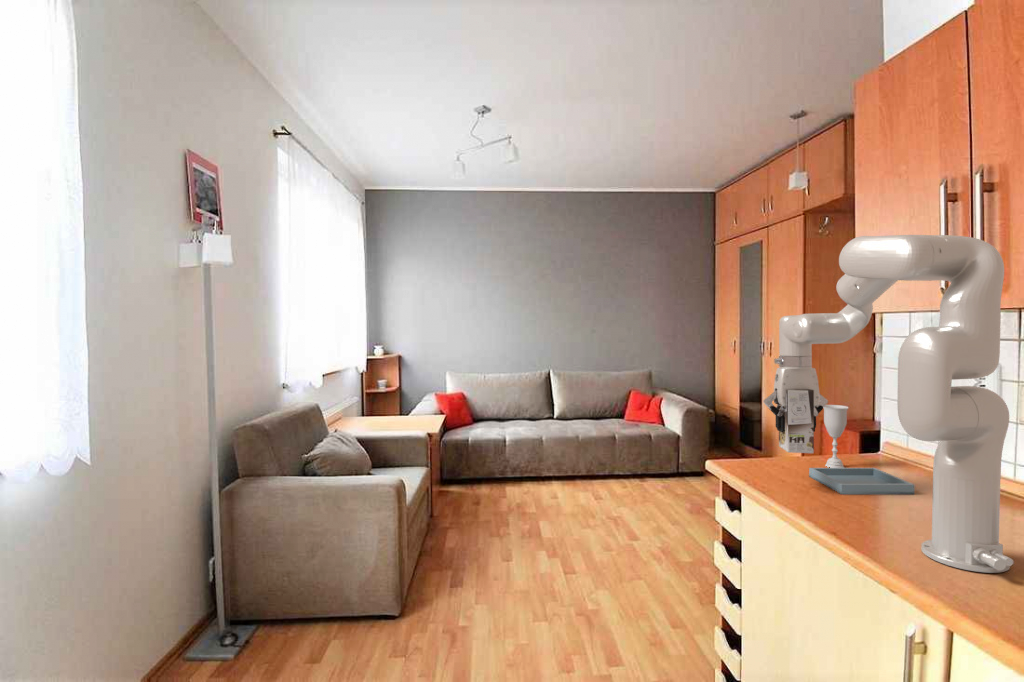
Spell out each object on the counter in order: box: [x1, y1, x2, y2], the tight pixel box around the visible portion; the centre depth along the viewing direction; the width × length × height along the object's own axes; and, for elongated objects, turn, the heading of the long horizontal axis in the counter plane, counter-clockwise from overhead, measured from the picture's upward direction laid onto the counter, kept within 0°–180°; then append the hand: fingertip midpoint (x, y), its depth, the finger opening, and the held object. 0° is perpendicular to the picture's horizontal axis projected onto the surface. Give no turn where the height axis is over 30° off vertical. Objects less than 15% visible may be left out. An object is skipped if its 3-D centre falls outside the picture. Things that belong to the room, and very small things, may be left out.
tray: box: [808, 467, 916, 495], centre depth 148 cm, size 16×18×2 cm
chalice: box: [823, 404, 850, 468], centre depth 166 cm, size 7×7×18 cm
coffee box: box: [778, 389, 815, 454], centre depth 145 cm, size 9×6×16 cm
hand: (795, 430), depth 145 cm, fingers closed on coffee box, 7 cm apart
